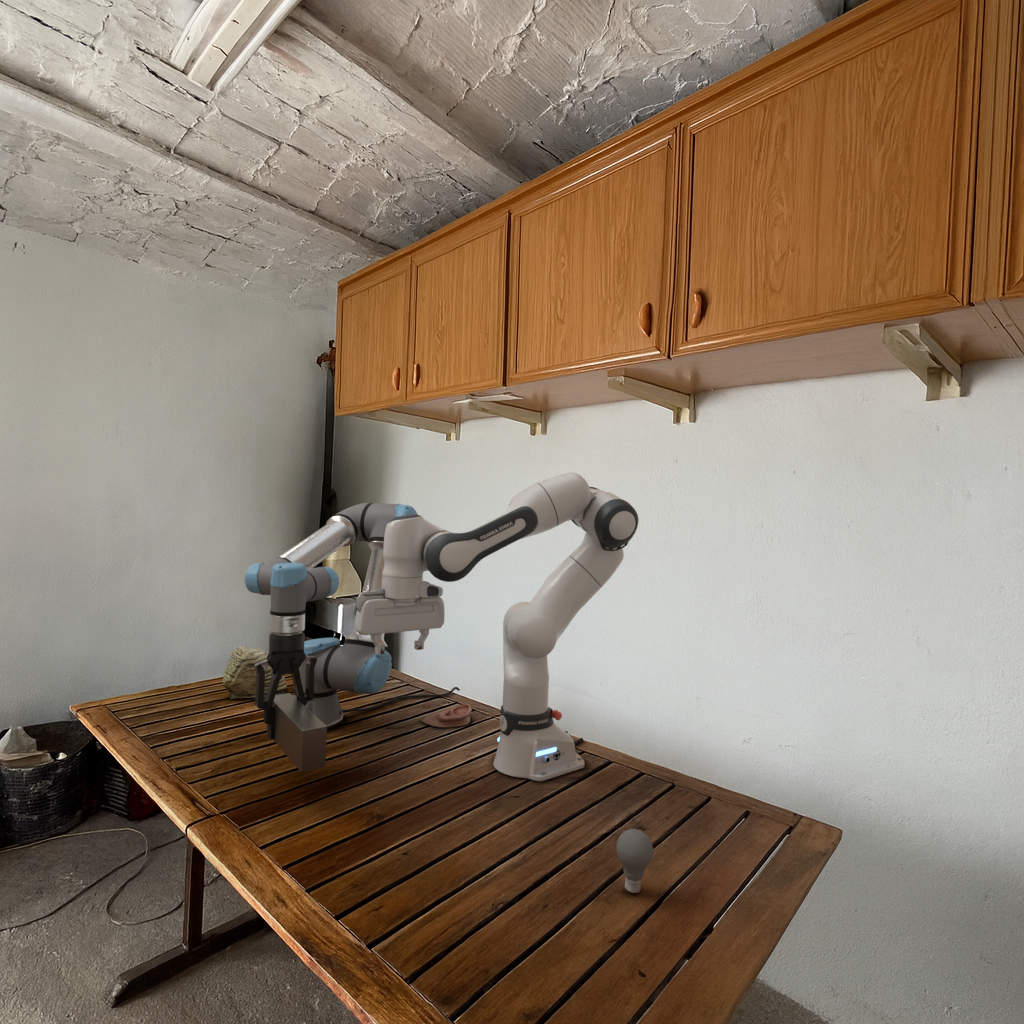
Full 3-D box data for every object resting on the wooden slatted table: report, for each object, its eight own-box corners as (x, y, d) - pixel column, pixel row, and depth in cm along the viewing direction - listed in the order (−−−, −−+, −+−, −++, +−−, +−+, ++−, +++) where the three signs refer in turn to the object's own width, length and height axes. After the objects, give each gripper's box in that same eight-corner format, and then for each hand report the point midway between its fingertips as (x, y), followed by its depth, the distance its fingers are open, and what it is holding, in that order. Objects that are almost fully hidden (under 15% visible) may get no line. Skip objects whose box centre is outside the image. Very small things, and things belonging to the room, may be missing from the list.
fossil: (218, 695, 195) (220, 647, 195) (278, 685, 208) (279, 640, 207) (228, 703, 189) (230, 653, 188) (289, 692, 201) (290, 645, 201)
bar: (266, 732, 145) (268, 696, 145) (288, 728, 148) (290, 692, 148) (301, 772, 125) (302, 730, 125) (325, 767, 128) (327, 726, 128)
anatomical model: (418, 710, 178) (431, 698, 189) (418, 724, 178) (431, 711, 189) (464, 716, 175) (474, 703, 186) (463, 730, 175) (474, 716, 186)
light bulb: (610, 879, 108) (613, 822, 108) (644, 879, 109) (647, 822, 109) (619, 902, 102) (622, 840, 102) (655, 901, 103) (658, 840, 103)
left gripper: (249, 639, 134) (245, 748, 134) (332, 631, 145) (328, 732, 145) (240, 632, 140) (237, 736, 141) (320, 625, 151) (317, 722, 151)
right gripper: (363, 593, 130) (360, 660, 130) (449, 588, 142) (446, 649, 142) (351, 588, 135) (348, 653, 135) (435, 584, 147) (432, 643, 147)
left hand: (283, 734), depth 143 cm, fingers closed on bar, 5 cm apart
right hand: (399, 651), depth 139 cm, fingers open, 8 cm apart
